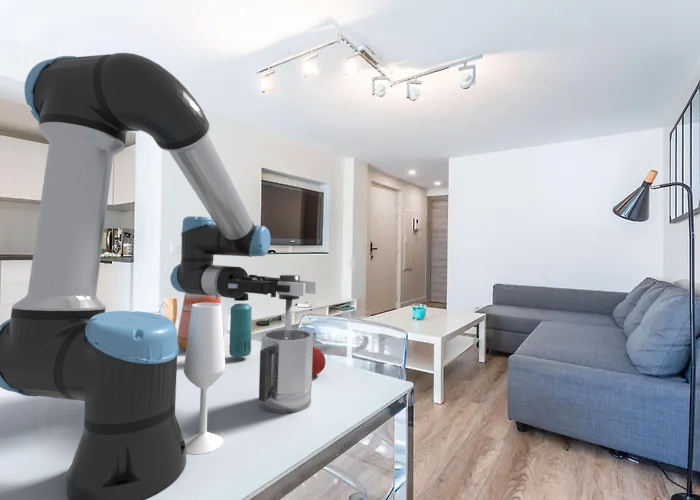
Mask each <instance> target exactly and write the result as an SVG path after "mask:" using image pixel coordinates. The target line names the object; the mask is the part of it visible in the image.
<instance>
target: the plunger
mask: <svg viewBox="0 0 700 500" xmlns="http://www.w3.org/2000/svg"><path fill="white" fill-rule="evenodd" d="M279 278H280V281H282V282H295V283H300V280H301V275H297V274H280V275H279ZM278 299H280V300H285V313H284V314H285V318H284V329H285V340H291V329H292V323H293V322H292V321H293V300H294V301H295V300H298V299H300V296H292V295H282V294H278Z"/></svg>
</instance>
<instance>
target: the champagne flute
mask: <svg viewBox="0 0 700 500" xmlns="http://www.w3.org/2000/svg"><path fill="white" fill-rule="evenodd" d="M222 319H223V310H222V303H221V304H220V303H197V304H193V305H192V308H191V316H190V324H189V332H188V339H187V347H186V350H185V356H184V365H183V373H184V376H185V377H186V379H188V381H189V382H190V383H192V384H193V385H194V386H195V387H197V388H199V389H200V398H199V400H200V402H199V403H200V404H199V432H198V433H196V434H194V435H193V436H191V437H189V438H188V439H186V440H184V442H185V445H186V454H189V455H203V454H208V453H211V452H213V451H215V450H217V449H219V448H220V447H221V446H222V445H223V442H224V439H223V437H221V436H220V435H218V434H215V433H212V432H209V431H208V428H207V427H208V403H209V402H208V397H209V396H208V393H209V392H208V391H209V387H211V386H213V385H214V384H215V383H216V382H217V381H218V380H219V379H220V378H221V377H222V375H223V373H224V371H225V369H226V357H225V356H226V355H225V342H224V341H225V340H224V339H225V337H224V338H223V328H224V322H223V323H222Z"/></svg>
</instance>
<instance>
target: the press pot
mask: <svg viewBox="0 0 700 500" xmlns="http://www.w3.org/2000/svg"><path fill="white" fill-rule="evenodd" d="M260 345H261V349H260V351H259V352H260V353H259V377H258V378H259V383H258V401H259V402H260V403H259V404H260V407H261V408H262V409H263V410H265V411H266V412H270V413H274V414H293V413H298V412H301V411H303V410H306V409H307V408H309V407H310V405H311V404H312V383H313V382H312V381H313V375H312V358H313V347H314V333H313V332H311V331H308V330H304V329H297V328H295V329H294V328H291V340H285V328H282V329H273V330H269V331H266V332H263V333H262V335H261V344H260Z"/></svg>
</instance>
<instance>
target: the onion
mask: <svg viewBox="0 0 700 500" xmlns="http://www.w3.org/2000/svg"><path fill="white" fill-rule="evenodd" d="M325 367H326V357H325V355H324V353H323V352H322V351H321V350H320V349H319V348H318V347H317V346H316V345H315V346H314V345H313V358H312V377H316V376H318V375H319V374H320V373H322V371H323V370H324V369H325Z"/></svg>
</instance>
